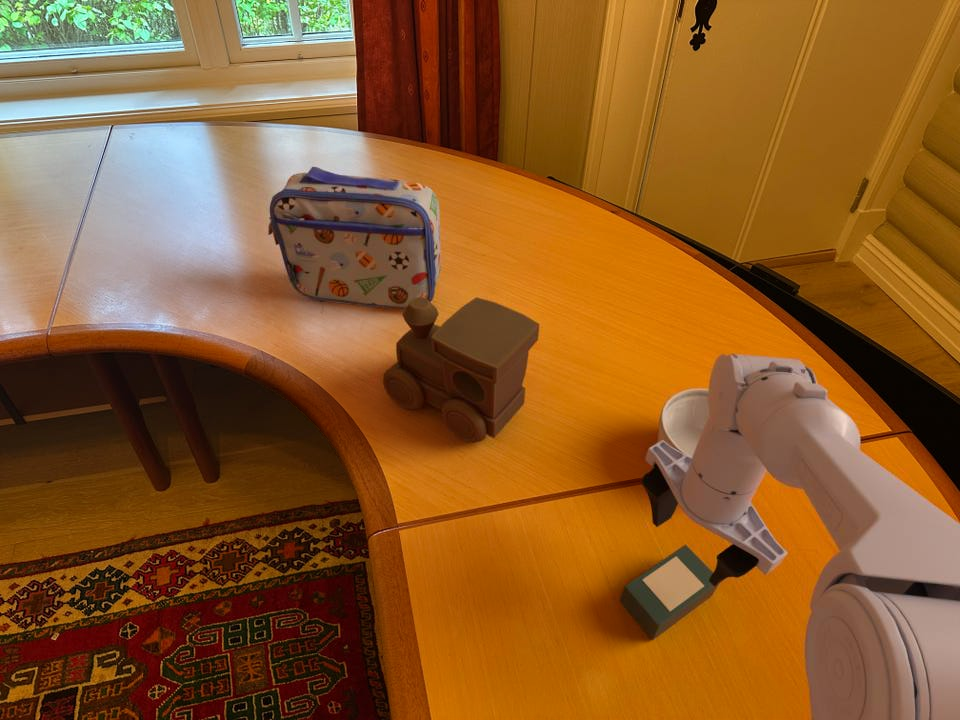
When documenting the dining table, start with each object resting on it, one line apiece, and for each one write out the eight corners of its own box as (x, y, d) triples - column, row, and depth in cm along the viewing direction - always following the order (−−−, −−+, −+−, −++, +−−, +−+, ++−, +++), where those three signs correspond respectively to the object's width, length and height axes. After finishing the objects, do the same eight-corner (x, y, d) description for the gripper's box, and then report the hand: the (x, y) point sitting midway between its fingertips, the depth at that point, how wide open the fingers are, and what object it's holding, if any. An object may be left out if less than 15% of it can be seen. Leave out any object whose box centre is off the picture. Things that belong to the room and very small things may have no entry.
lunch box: (278, 304, 104) (244, 185, 88) (300, 270, 111) (272, 154, 96) (436, 319, 101) (428, 199, 86) (447, 283, 108) (442, 166, 93)
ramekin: (766, 450, 81) (784, 415, 76) (736, 522, 73) (754, 488, 68) (671, 408, 86) (683, 373, 81) (633, 471, 78) (643, 436, 73)
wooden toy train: (536, 409, 86) (544, 318, 75) (491, 462, 79) (493, 371, 68) (426, 354, 94) (418, 265, 83) (376, 398, 87) (361, 308, 76)
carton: (678, 559, 69) (685, 543, 67) (712, 595, 66) (721, 580, 63) (619, 601, 65) (624, 585, 63) (652, 641, 62) (659, 626, 60)
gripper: (830, 506, 49) (774, 585, 58) (695, 396, 58) (665, 480, 67) (774, 549, 46) (725, 625, 56) (640, 427, 55) (617, 510, 64)
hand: (689, 548), depth 61 cm, fingers open, 7 cm apart
